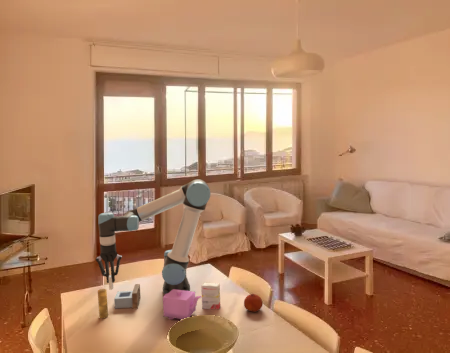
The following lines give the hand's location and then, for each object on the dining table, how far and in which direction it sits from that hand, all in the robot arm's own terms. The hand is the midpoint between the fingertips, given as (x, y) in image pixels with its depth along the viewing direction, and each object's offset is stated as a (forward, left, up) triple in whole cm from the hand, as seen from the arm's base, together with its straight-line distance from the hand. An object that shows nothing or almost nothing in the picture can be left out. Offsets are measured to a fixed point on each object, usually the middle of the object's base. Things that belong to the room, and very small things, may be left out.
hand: (111, 288), depth 189 cm
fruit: (-70, +17, -9) cm, 73 cm away
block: (-7, 0, -9) cm, 11 cm away
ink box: (-50, +10, -9) cm, 52 cm away
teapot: (-36, +18, -9) cm, 41 cm away
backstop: (-12, 0, -9) cm, 15 cm away
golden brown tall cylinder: (+2, +12, -9) cm, 15 cm away
